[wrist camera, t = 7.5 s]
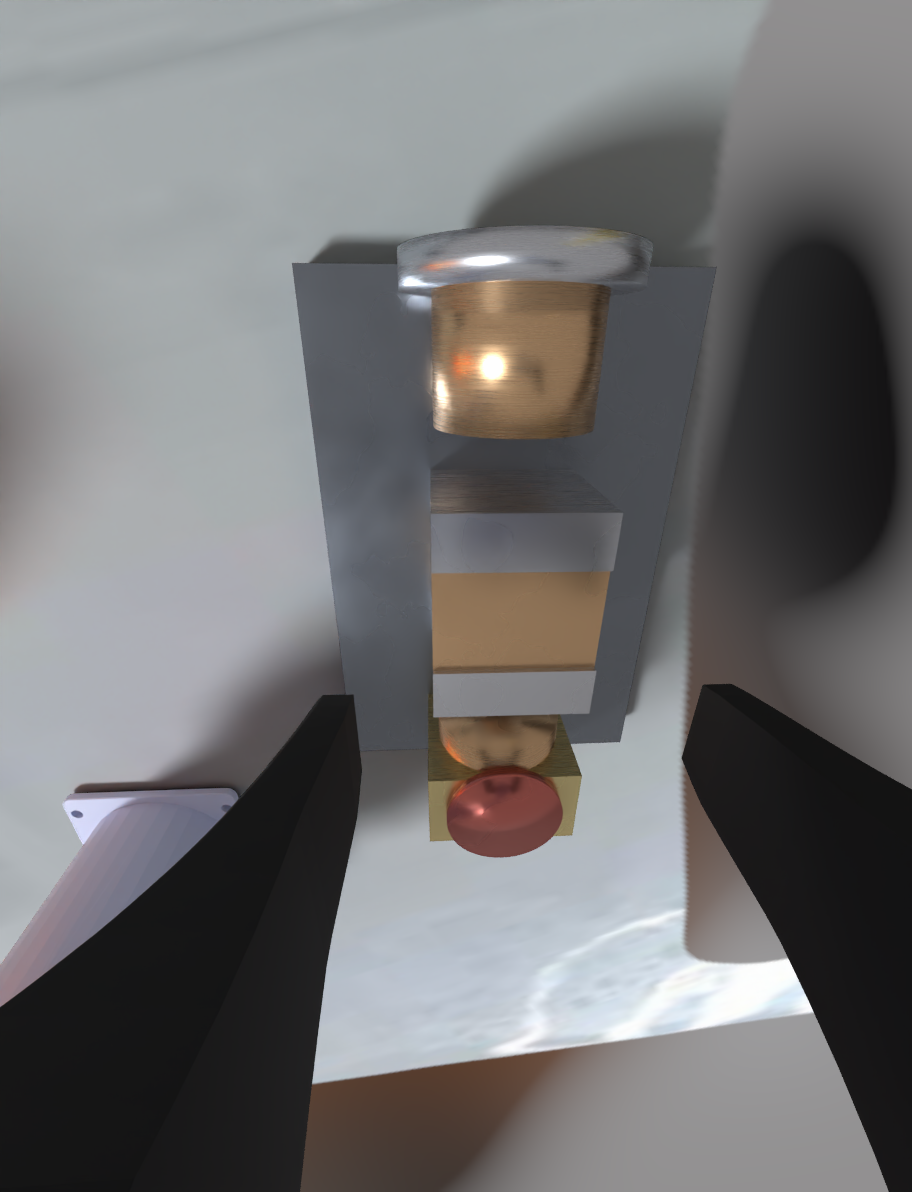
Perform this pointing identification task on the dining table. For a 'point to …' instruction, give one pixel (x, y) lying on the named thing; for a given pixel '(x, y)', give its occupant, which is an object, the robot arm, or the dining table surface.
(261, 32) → the dining table surface
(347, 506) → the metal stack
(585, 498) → the block
